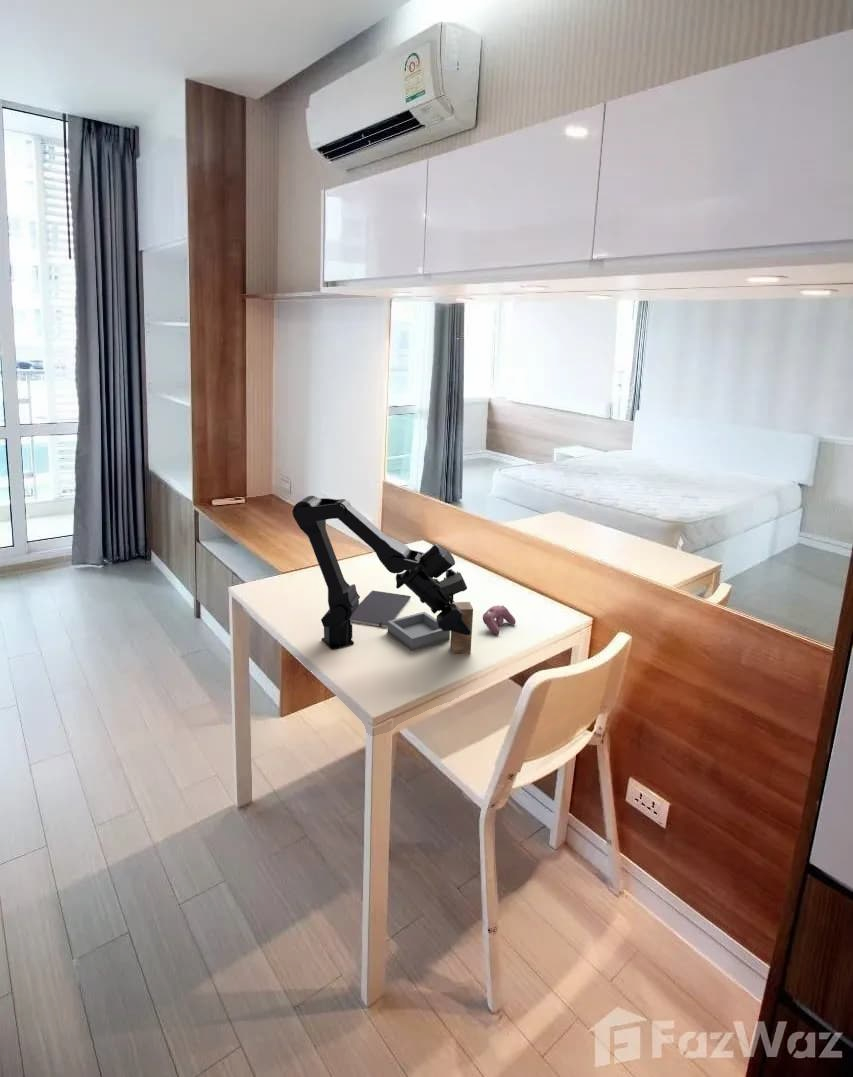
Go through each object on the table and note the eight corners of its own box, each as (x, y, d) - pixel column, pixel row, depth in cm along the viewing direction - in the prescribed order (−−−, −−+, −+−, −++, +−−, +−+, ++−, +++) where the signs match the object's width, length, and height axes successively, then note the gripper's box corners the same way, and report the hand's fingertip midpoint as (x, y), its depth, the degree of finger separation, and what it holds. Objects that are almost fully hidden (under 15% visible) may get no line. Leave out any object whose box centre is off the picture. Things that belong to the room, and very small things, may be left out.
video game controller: (505, 625, 186) (497, 602, 186) (517, 623, 183) (510, 600, 183) (485, 637, 179) (477, 613, 178) (498, 635, 175) (490, 610, 175)
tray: (411, 651, 166) (412, 638, 165) (387, 633, 176) (387, 621, 175) (449, 639, 173) (450, 627, 172) (424, 623, 182) (424, 611, 181)
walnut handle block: (453, 654, 165) (455, 609, 161) (450, 646, 170) (452, 602, 166) (470, 653, 166) (473, 609, 162) (467, 645, 170) (469, 601, 166)
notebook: (372, 594, 201) (345, 623, 182) (372, 590, 201) (345, 618, 181) (411, 600, 198) (388, 629, 179) (411, 595, 198) (388, 624, 178)
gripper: (454, 578, 151) (498, 620, 156) (442, 552, 169) (481, 590, 174) (420, 610, 152) (464, 651, 157) (411, 581, 170) (451, 618, 175)
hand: (466, 625), depth 166 cm, fingers open, 9 cm apart
